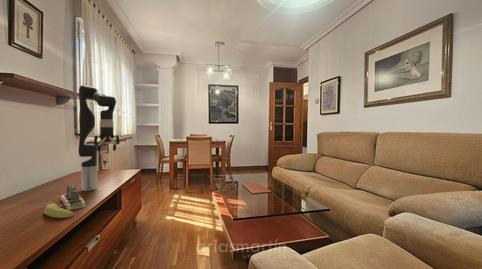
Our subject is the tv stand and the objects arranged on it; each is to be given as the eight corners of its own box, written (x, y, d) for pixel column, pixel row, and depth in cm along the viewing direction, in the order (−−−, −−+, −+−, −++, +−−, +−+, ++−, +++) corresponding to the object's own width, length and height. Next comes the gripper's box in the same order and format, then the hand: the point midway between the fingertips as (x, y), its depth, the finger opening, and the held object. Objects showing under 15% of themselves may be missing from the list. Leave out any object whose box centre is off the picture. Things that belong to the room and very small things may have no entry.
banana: (41, 207, 106) (50, 200, 123) (37, 219, 105) (47, 210, 122) (75, 209, 113) (79, 202, 130) (72, 220, 112) (76, 212, 129)
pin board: (61, 200, 136) (61, 185, 136) (77, 197, 142) (77, 183, 141) (67, 210, 120) (67, 194, 120) (85, 206, 126) (84, 191, 125)
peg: (69, 204, 128) (69, 188, 128) (68, 203, 131) (68, 186, 130) (77, 203, 131) (76, 187, 130) (75, 201, 133) (75, 185, 133)
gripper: (95, 126, 135) (95, 152, 136) (120, 126, 145) (120, 150, 146) (92, 126, 140) (92, 151, 141) (116, 126, 150) (117, 149, 151)
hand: (106, 151), depth 143 cm, fingers open, 8 cm apart
